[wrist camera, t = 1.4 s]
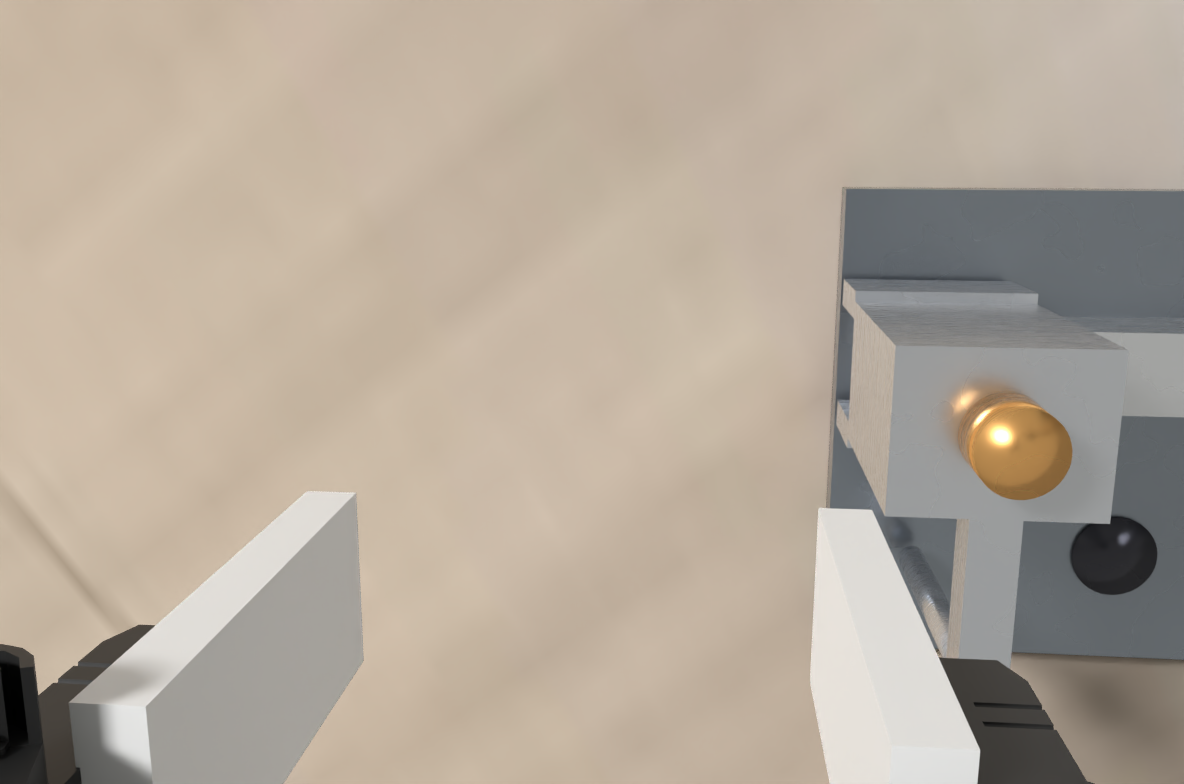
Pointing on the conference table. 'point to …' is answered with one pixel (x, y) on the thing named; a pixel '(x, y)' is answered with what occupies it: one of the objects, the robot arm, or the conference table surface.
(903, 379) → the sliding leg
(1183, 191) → the flange plate
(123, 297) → the conference table surface
